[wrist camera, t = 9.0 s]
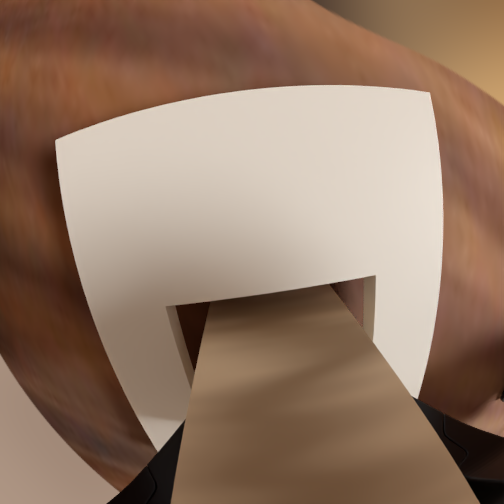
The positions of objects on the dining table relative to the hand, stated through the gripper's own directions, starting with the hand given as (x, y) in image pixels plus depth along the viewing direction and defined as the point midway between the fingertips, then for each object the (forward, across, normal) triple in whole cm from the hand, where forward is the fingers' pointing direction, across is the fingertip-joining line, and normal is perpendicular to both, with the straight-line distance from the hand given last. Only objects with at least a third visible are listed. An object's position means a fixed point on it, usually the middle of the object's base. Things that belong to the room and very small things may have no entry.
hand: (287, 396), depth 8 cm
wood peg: (+4, 0, 0) cm, 4 cm away
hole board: (+4, 0, 0) cm, 4 cm away
